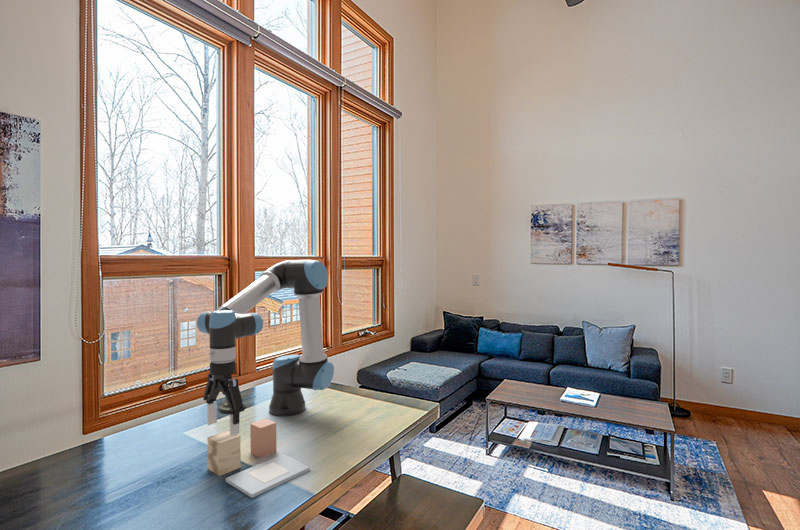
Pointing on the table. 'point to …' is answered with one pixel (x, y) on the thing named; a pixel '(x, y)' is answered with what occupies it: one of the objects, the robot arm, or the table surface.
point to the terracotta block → (263, 438)
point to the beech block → (224, 453)
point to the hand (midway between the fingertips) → (223, 428)
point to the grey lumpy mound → (226, 407)
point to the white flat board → (267, 475)
